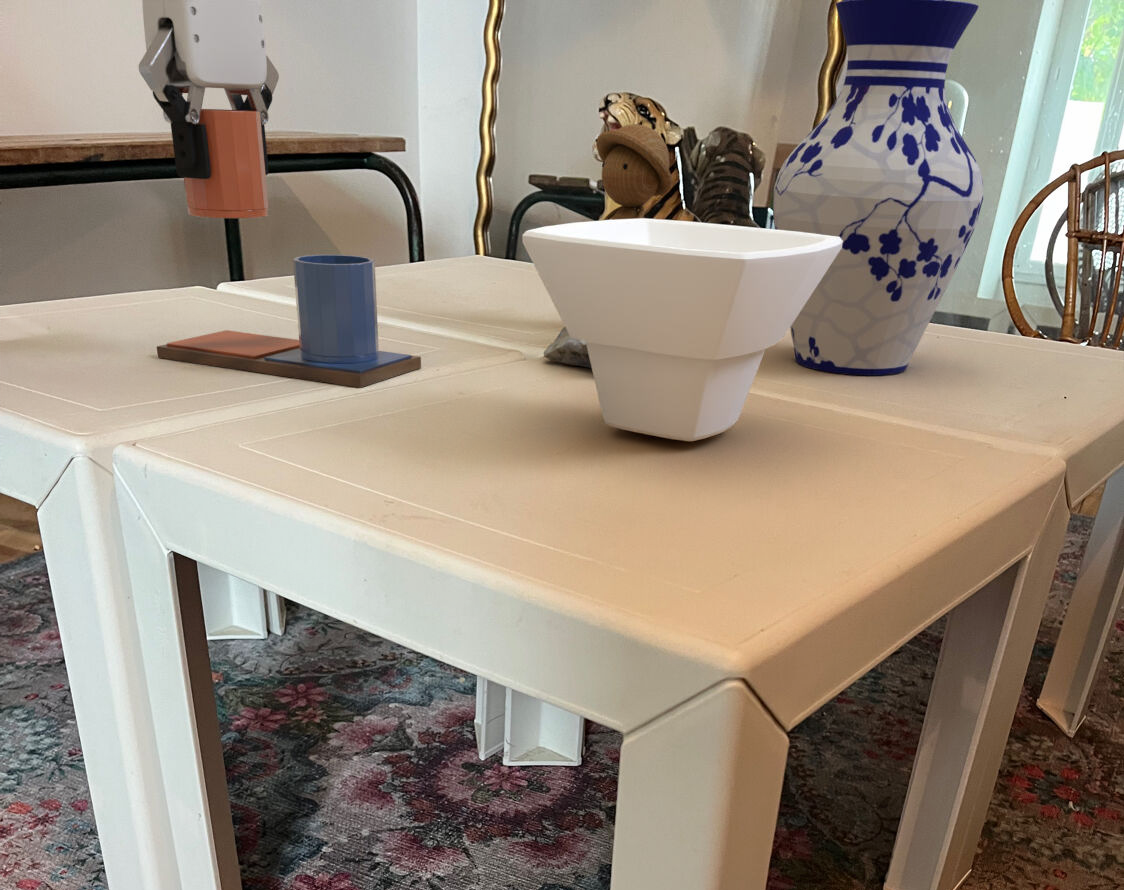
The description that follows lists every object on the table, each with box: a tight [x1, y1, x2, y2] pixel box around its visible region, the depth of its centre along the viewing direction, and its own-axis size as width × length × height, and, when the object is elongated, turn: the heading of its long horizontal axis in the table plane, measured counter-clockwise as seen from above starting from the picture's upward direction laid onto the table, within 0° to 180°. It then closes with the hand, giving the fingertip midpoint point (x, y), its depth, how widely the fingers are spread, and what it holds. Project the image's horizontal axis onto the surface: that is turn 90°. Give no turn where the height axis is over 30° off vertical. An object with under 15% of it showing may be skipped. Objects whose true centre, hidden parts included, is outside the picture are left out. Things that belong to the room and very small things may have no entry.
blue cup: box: [292, 254, 380, 364], centre depth 98 cm, size 7×7×8 cm
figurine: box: [595, 123, 673, 220], centre depth 119 cm, size 9×7×20 cm
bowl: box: [522, 217, 843, 442], centre depth 82 cm, size 19×19×14 cm
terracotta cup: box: [183, 108, 269, 219], centre depth 97 cm, size 7×7×8 cm
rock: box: [543, 325, 592, 369], centre depth 105 cm, size 11×6×10 cm
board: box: [156, 329, 422, 389], centre depth 103 cm, size 22×10×1 cm, turn 65°
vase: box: [772, 0, 984, 376], centre depth 104 cm, size 19×19×30 cm
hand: (224, 174), depth 97 cm, fingers closed on terracotta cup, 6 cm apart
